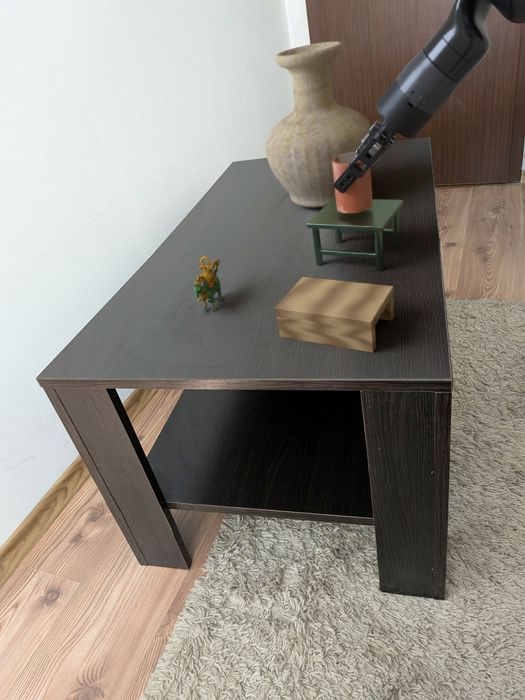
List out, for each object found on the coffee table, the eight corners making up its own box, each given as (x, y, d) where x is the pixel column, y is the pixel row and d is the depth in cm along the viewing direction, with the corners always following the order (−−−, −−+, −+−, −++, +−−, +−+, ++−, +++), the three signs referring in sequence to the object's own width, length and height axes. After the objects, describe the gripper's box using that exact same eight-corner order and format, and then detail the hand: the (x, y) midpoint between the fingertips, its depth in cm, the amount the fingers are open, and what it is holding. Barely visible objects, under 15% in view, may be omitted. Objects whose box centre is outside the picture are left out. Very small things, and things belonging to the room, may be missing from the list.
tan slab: (394, 316, 73) (393, 286, 70) (373, 352, 67) (371, 321, 64) (306, 304, 80) (302, 276, 77) (280, 337, 74) (274, 308, 71)
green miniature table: (403, 243, 91) (403, 199, 86) (383, 272, 84) (382, 227, 79) (336, 239, 97) (332, 198, 93) (312, 266, 90) (306, 223, 85)
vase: (397, 196, 109) (393, 34, 92) (307, 230, 103) (285, 63, 86) (338, 175, 126) (325, 36, 109) (258, 204, 120) (232, 60, 103)
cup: (376, 209, 83) (374, 158, 78) (340, 216, 83) (335, 166, 78) (368, 196, 88) (365, 148, 83) (333, 203, 88) (329, 156, 83)
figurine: (194, 321, 82) (181, 276, 77) (217, 283, 91) (206, 241, 86) (212, 321, 81) (199, 275, 76) (233, 283, 90) (223, 240, 86)
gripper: (403, 66, 77) (334, 152, 88) (390, 87, 67) (313, 182, 78) (440, 99, 78) (367, 181, 89) (432, 125, 68) (351, 214, 79)
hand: (342, 181), depth 83 cm, fingers closed on cup, 6 cm apart
